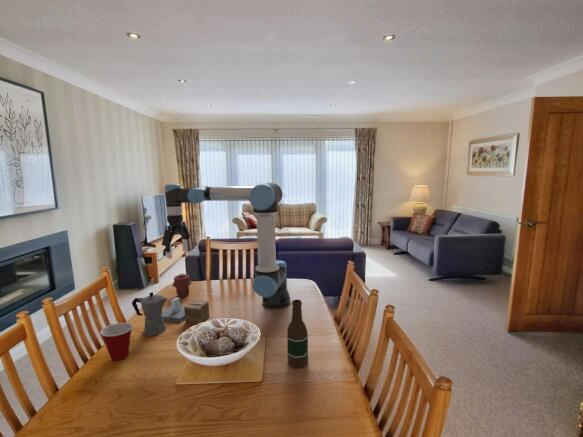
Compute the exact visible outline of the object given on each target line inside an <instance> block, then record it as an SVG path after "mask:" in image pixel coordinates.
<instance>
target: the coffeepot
mask: <svg viewBox="0 0 583 437" xmlns="http://www.w3.org/2000/svg"><path fill="white" fill-rule="evenodd" d="M148 294H149V295H148V296H145V297H135V298H134V299H133V300H132V301H131V305H132V307H133V309H134V310H135V313H136V315H137V316H140V317H141V316H143V315H144V317H145V318H144V328H143V329H144V331H143V334H144V336H147V337H148V336H151V337H152V336H157V335H160V334H162V333H163V332H164V331H165V330H166V323H165V321H164V320H163V317H162V312H163V307H164V304H165V303H166V302H167V301H168V298H166V297H164V296H163V295H160V294H154V292H150V293H148ZM137 303H140V304H141V308H142V312H143V313H142V312H140V309H139V308H138V304H137Z"/></svg>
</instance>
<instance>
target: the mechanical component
mask: <svg viewBox="0 0 583 437" xmlns="http://www.w3.org/2000/svg"><path fill="white" fill-rule="evenodd" d="M190 285H192V280H191V279H190V275H189V274H186V273H185V274H184V273H180V274H178V275H175V276H174V277H173V282H172V286H173V287H174V288H175V292H176V295H178V296H179V298H180V299H181V298H183V297H186V296H188V295H190Z"/></svg>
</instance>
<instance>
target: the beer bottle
mask: <svg viewBox="0 0 583 437" xmlns="http://www.w3.org/2000/svg"><path fill="white" fill-rule="evenodd" d="M291 305H292V312H291V321H290V322H289V324H288V327H287V330H286V335H287V336H286V337H287V338H286V339H287V341H286V342H287V361H288V366H289V367H292V369H303V368H305V366H307V365H308V361H309V348H308V347H309V339H308V338H309V335H308V329H307V326H306V324H305V322H304V321H303V313H302V305H303V302H302V300H300V299H294V300H291Z"/></svg>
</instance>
